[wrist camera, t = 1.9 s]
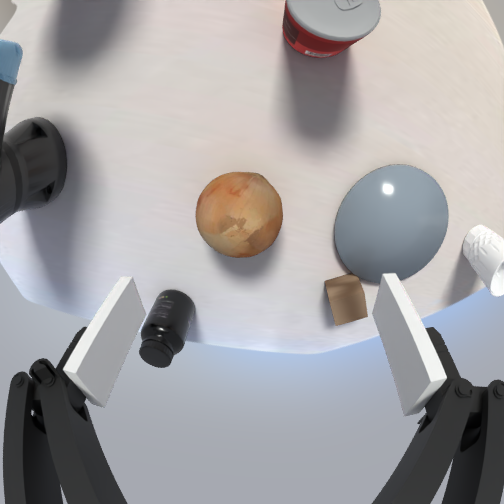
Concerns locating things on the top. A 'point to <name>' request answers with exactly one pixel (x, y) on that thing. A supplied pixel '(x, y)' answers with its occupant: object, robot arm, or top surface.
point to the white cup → (486, 257)
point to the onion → (239, 214)
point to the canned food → (328, 24)
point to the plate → (391, 223)
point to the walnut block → (346, 298)
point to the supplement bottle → (166, 328)
